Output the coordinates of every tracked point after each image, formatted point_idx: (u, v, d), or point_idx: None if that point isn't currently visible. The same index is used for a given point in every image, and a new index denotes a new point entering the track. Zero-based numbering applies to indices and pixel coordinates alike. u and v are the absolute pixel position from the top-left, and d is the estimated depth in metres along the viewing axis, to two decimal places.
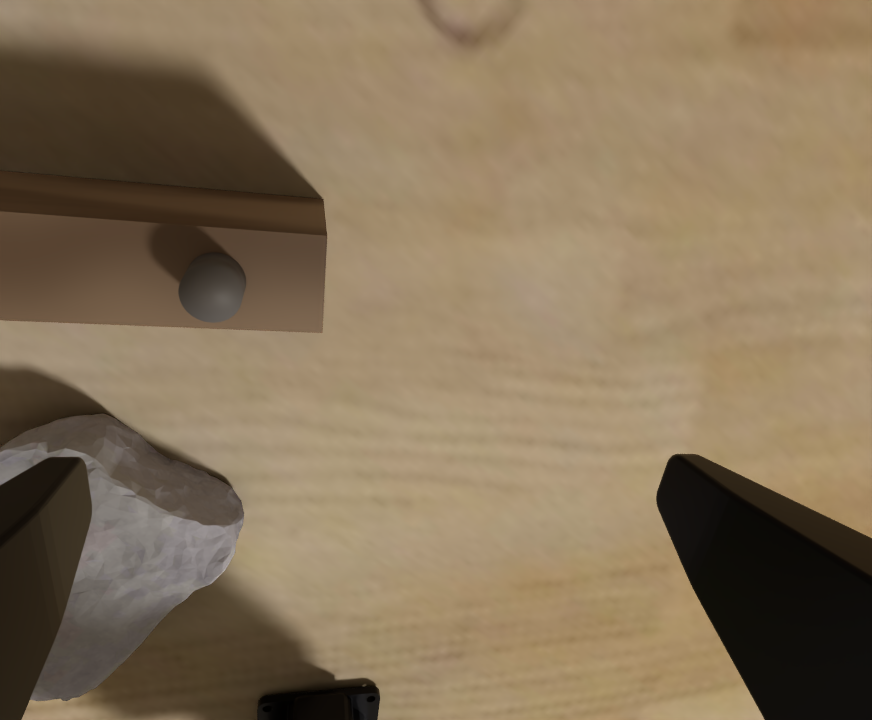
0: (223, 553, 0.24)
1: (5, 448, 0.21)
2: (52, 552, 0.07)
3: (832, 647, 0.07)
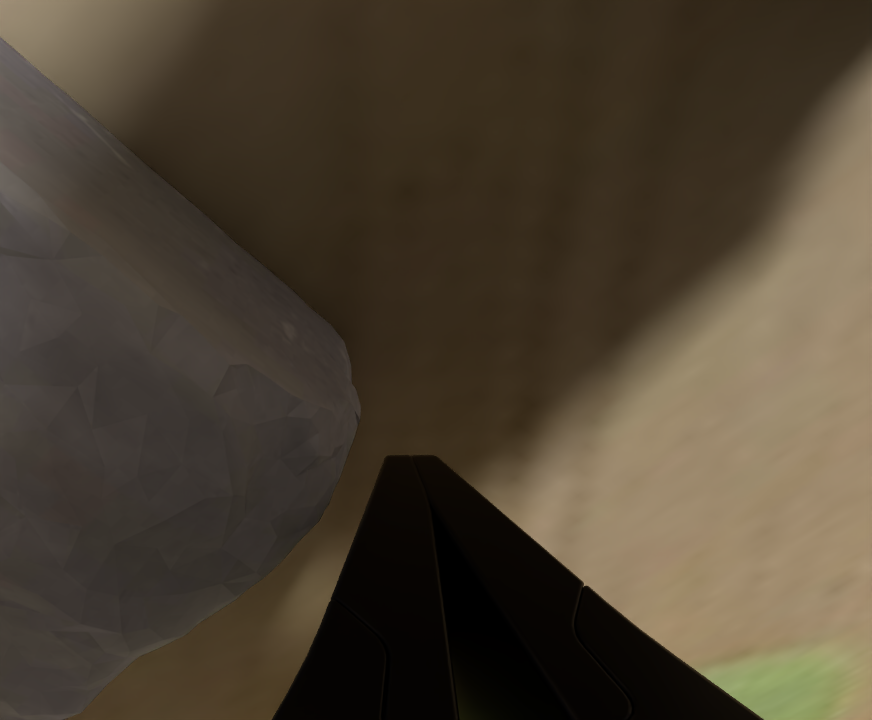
0: None
1: None
2: None
3: (477, 678, 0.06)
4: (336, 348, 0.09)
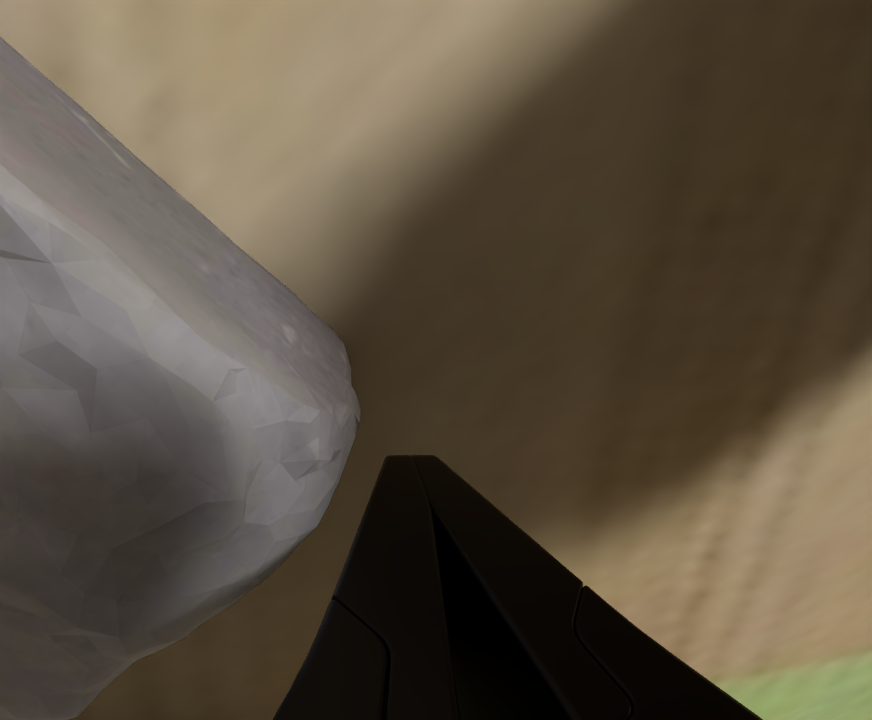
0: None
1: None
2: None
3: (477, 679, 0.06)
4: (336, 351, 0.09)
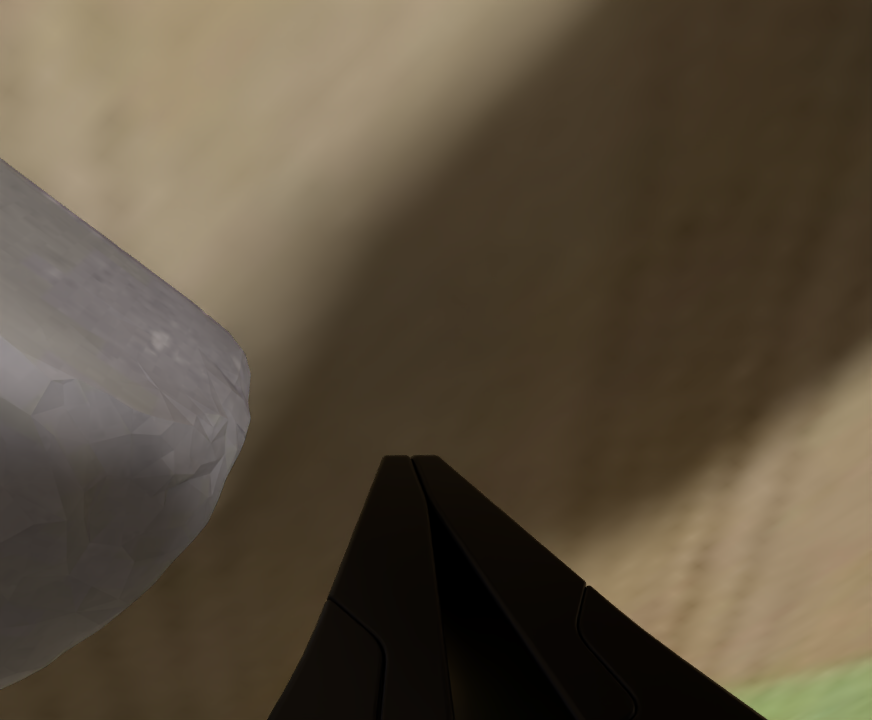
0: None
1: None
2: None
3: (480, 678, 0.06)
4: (227, 357, 0.08)
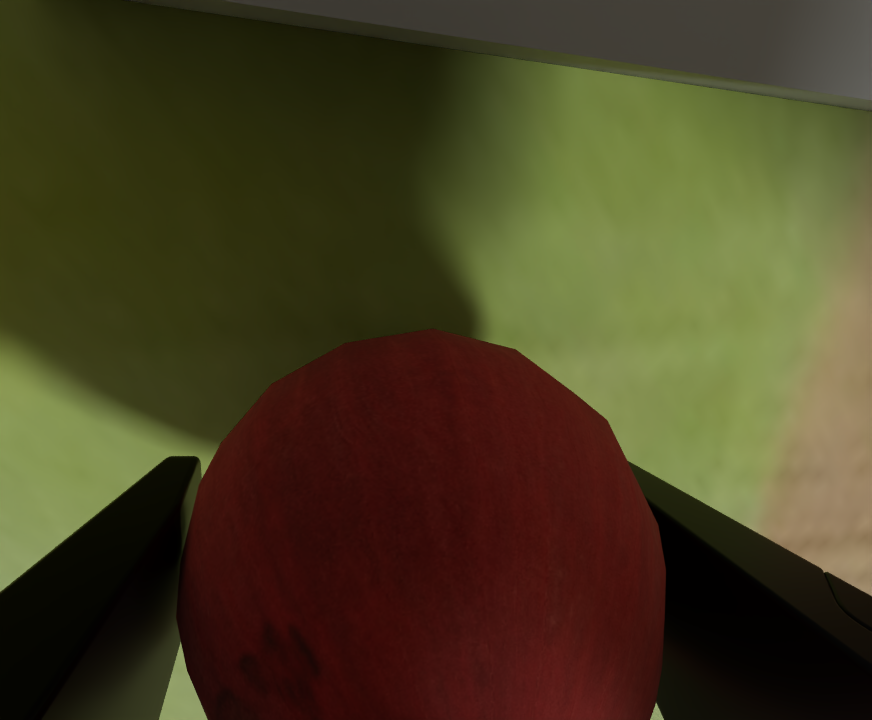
0: None
1: None
2: None
3: (726, 656, 0.07)
4: None
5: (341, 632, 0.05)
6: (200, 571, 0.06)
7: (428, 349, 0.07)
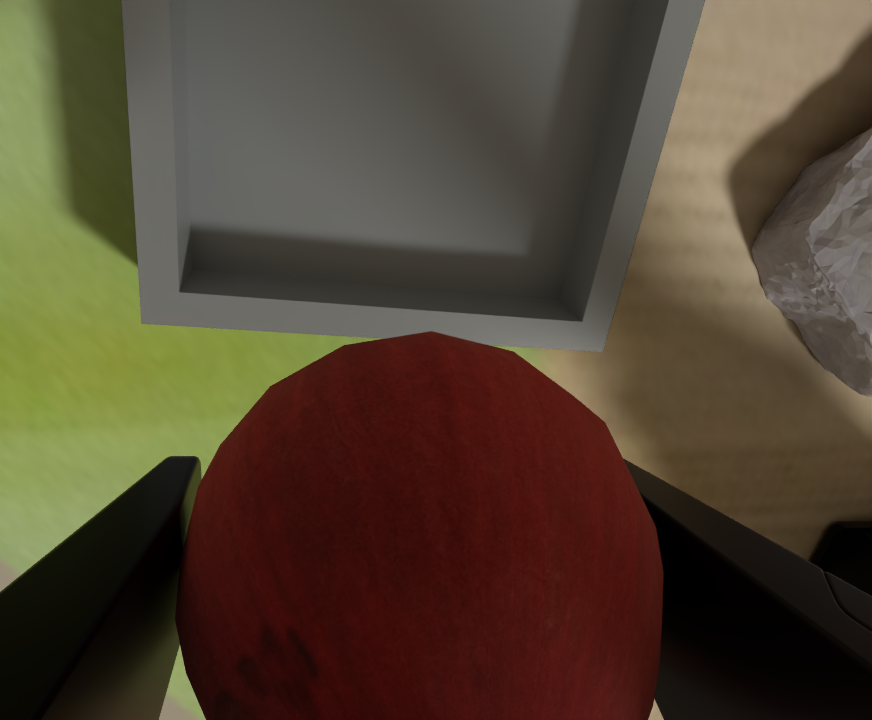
0: None
1: None
2: None
3: (727, 656, 0.07)
4: None
5: (339, 635, 0.05)
6: (199, 573, 0.06)
7: (426, 352, 0.07)
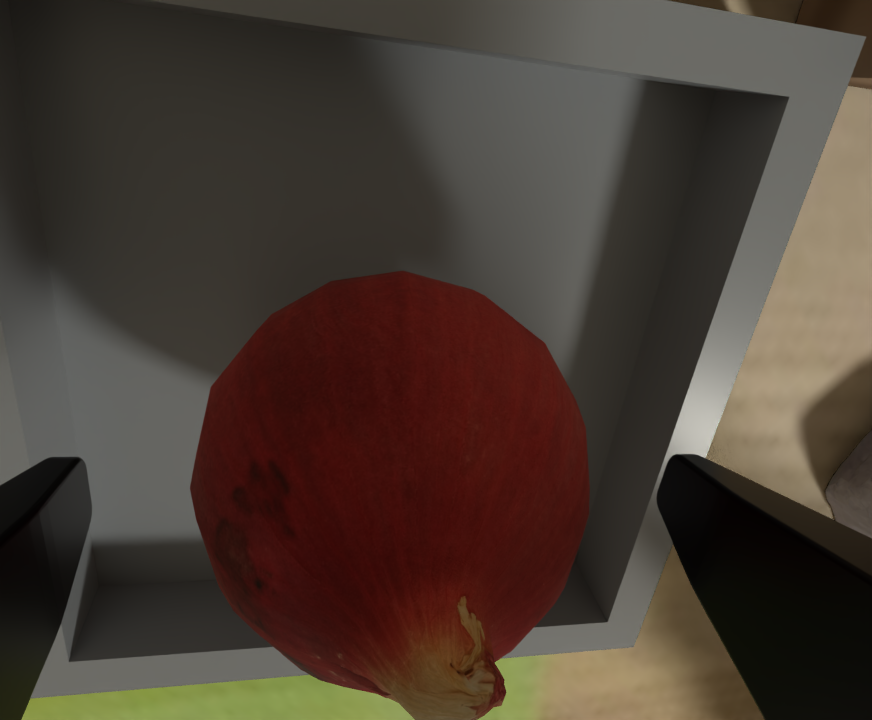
0: None
1: None
2: (52, 552, 0.07)
3: (832, 647, 0.07)
4: None
5: (305, 460, 0.06)
6: (206, 439, 0.08)
7: (392, 278, 0.08)
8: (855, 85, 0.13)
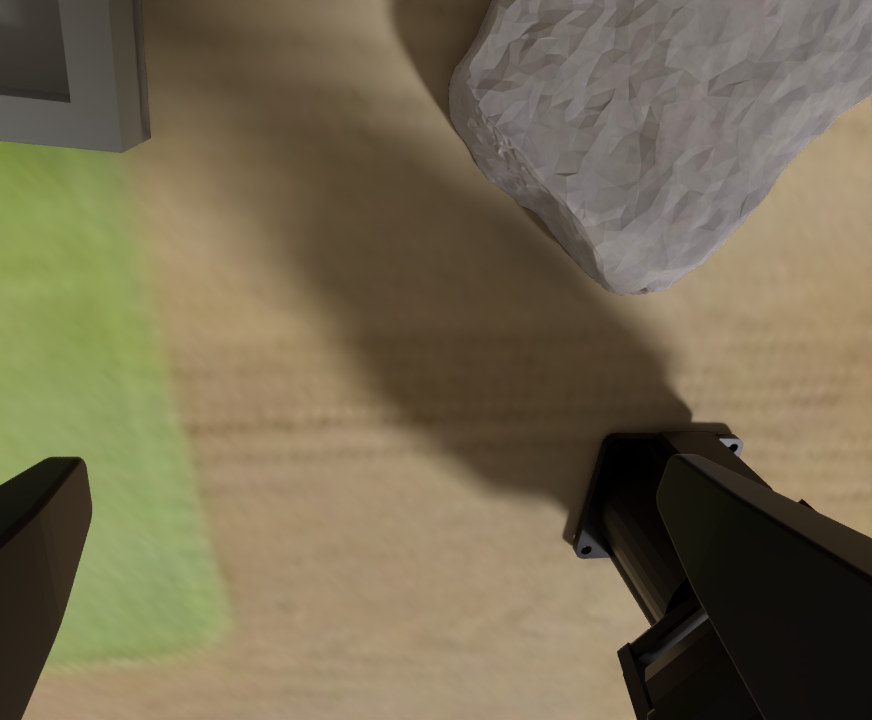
0: None
1: None
2: (52, 552, 0.07)
3: (832, 647, 0.07)
4: None
5: None
6: None
7: None
8: None
